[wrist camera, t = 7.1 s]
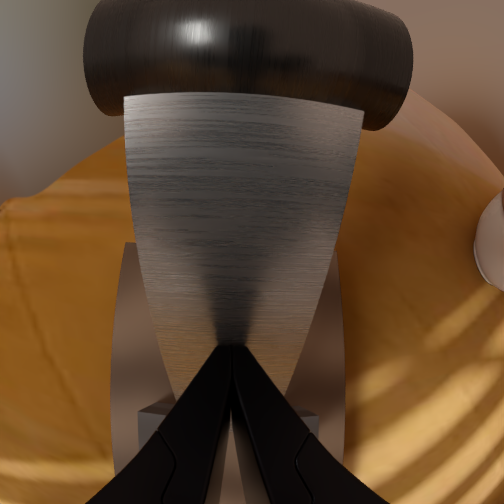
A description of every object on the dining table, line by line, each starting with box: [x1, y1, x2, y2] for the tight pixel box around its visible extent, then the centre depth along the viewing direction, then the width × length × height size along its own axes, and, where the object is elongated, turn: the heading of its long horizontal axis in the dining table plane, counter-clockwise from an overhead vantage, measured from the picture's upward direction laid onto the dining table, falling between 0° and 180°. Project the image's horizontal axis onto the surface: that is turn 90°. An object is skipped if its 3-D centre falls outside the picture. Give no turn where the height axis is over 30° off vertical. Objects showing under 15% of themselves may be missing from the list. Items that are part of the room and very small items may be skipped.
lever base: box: [110, 242, 345, 504], centre depth 13 cm, size 18×14×7 cm
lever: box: [83, 0, 413, 432], centre depth 8 cm, size 3×5×16 cm
